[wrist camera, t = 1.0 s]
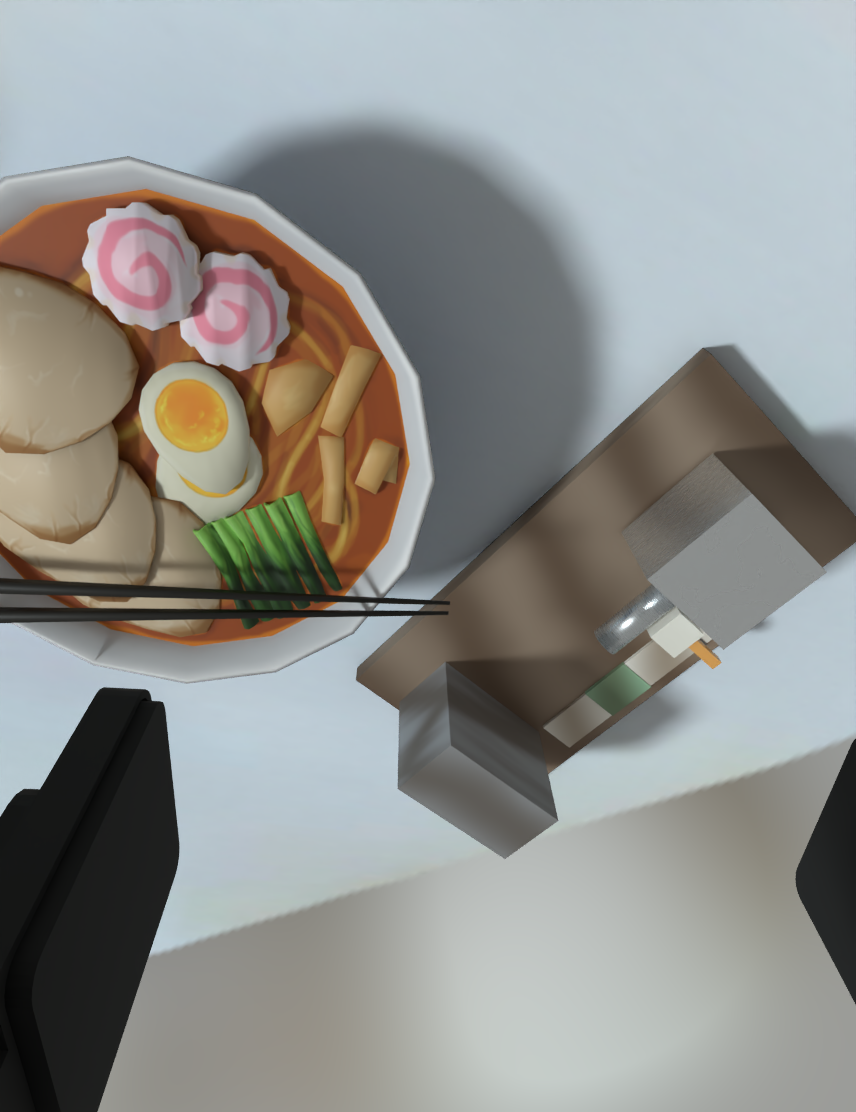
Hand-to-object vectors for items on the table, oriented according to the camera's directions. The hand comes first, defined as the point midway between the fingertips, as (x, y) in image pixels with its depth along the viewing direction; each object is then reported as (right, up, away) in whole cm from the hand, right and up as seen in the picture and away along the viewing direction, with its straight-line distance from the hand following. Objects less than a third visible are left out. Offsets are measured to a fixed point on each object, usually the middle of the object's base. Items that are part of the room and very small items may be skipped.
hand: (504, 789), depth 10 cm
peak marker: (+13, -1, +33) cm, 35 cm away
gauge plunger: (+12, +3, +31) cm, 33 cm away
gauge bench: (+9, +1, +33) cm, 34 cm away
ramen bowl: (-12, +11, +28) cm, 32 cm away
